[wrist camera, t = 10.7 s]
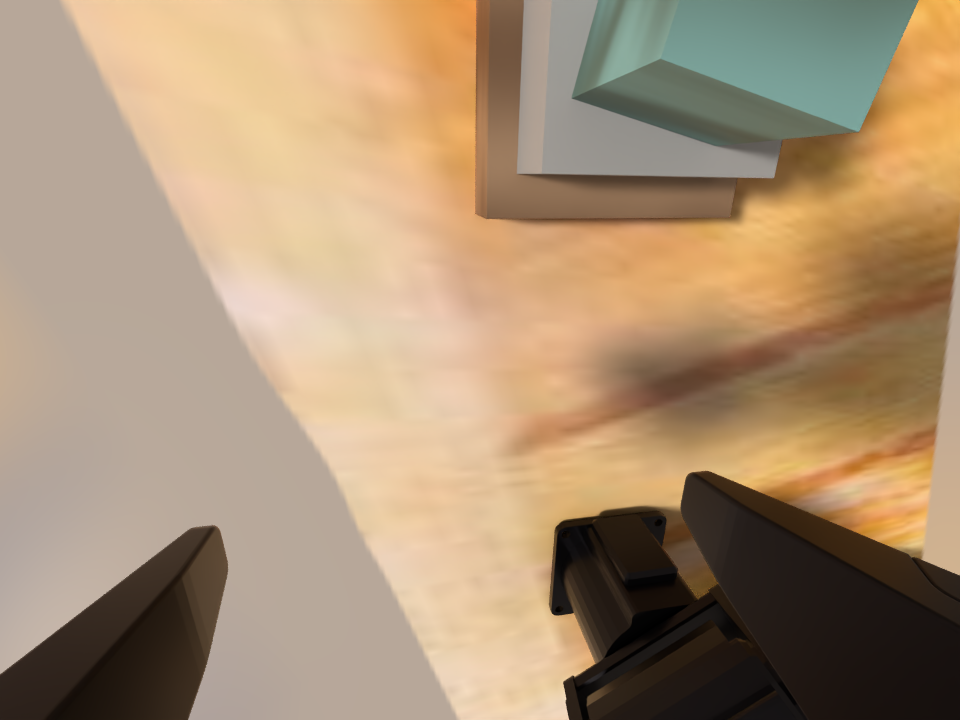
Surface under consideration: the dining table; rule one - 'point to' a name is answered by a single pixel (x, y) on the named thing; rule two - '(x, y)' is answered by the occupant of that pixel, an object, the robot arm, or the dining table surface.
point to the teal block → (741, 64)
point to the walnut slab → (559, 194)
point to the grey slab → (603, 115)
